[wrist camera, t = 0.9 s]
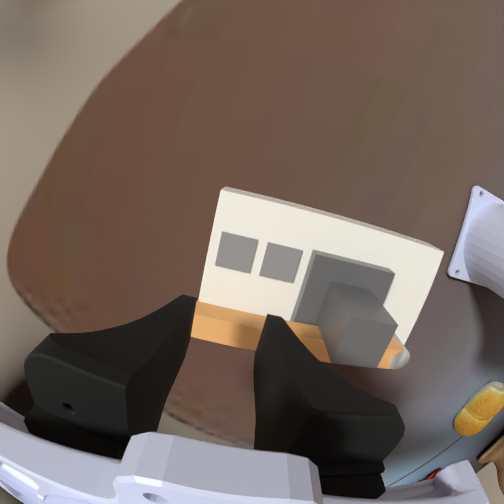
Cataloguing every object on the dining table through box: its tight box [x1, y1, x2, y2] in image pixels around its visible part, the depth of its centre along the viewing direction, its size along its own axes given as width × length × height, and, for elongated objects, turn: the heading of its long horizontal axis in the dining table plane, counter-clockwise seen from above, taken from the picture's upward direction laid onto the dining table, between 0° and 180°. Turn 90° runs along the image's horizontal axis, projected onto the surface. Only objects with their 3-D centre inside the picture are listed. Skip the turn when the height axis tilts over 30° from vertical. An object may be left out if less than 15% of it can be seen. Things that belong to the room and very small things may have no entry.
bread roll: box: [454, 381, 504, 436], centre depth 25 cm, size 8×9×4 cm
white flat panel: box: [199, 187, 444, 345], centre depth 20 cm, size 16×10×3 cm, turn 77°
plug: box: [290, 249, 398, 368], centre depth 17 cm, size 6×6×8 cm
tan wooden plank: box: [191, 301, 410, 369], centre depth 18 cm, size 15×2×3 cm, turn 77°
